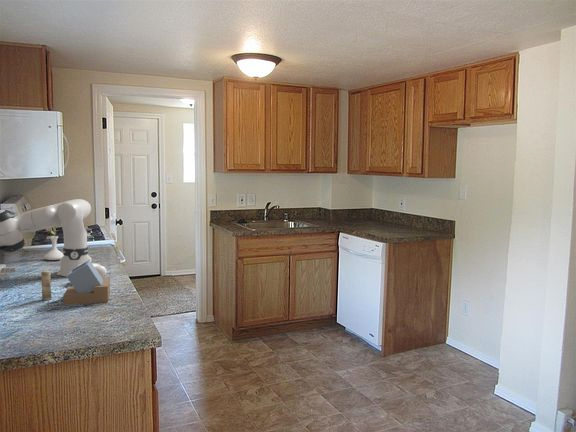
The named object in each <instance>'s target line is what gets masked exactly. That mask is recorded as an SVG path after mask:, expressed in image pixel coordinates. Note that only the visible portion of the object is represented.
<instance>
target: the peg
mask: <svg viewBox="0 0 576 432" xmlns="http://www.w3.org/2000/svg"><path fill="white" fill-rule="evenodd" d="M40 274H41V300H42V301H45V302H46V301H50V300H52V286H51V285H52V284H51V283H52V282H51V281H52V280H51V279H52V278H51V277H52V276H51V271H50V270H43V271H41V273H40Z"/></svg>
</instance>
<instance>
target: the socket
mask: <svg viewBox="0 0 576 432" xmlns="http://www.w3.org/2000/svg"><path fill="white" fill-rule="evenodd" d="M92 263H93V262H92V260H91V261H90V260H88V261H87V262H85V263H83V264H81V265H79V266H78V267H76V268H74V269H72V270H71V271H69V273H68V274H67V276H65V277H66V278H67V279H68V281H69V282H70V284H71V285H72V286H68V287H67V288H66V290H65V292H64V293H63V297H62V299H63V306H66V305H67V306H68V305H69V306H70V305H82V304H86V305H87V304H101V303H108V302H109V298H110V295H111V282H110V281H111V280H110V278H104V279H102V277H101V276H100V274H99V273H98V272H97V270H96V269H95V267H94V266H93V264H92Z"/></svg>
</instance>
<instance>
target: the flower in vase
mask: <svg viewBox="0 0 576 432" xmlns="http://www.w3.org/2000/svg"><path fill="white" fill-rule="evenodd" d="M52 229H53V230H54V231H53V230H52ZM45 231H46V232H48V231H50V233H51V234H52V236H49V238H50V241H51V249H50V250H49V251H48V252H47V253H46V254H45V255H43V256H44V257H43V258H44V260H46V261H60V259H61V258H62V257H63V256H64V255H63V251H60V250H59V249H58V248H57V241H58V238H59V236H58V235H57V231H56V229H55V226H54V227H50V228H46V229H45ZM56 235H57V236H56Z"/></svg>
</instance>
